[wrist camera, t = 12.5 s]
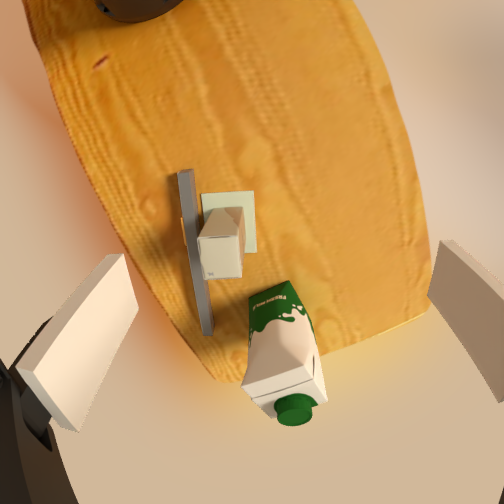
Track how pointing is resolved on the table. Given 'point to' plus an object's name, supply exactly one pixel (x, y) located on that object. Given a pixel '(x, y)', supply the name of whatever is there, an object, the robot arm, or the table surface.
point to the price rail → (194, 247)
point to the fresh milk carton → (283, 357)
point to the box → (223, 244)
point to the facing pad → (234, 200)
